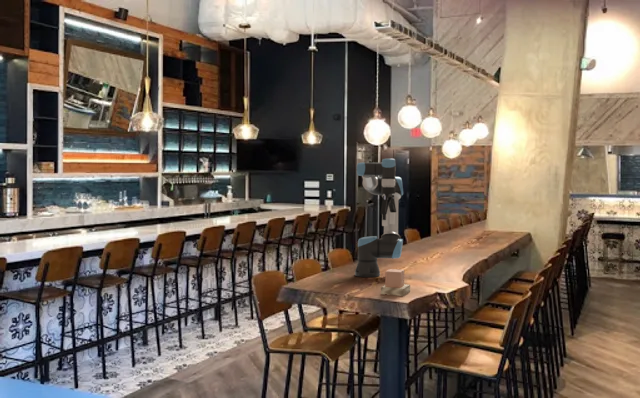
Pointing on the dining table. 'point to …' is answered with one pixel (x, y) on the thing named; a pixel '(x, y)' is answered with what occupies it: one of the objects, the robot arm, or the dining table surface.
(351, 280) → the dining table surface
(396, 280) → the terracotta cube
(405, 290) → the mottled grey-green square block
